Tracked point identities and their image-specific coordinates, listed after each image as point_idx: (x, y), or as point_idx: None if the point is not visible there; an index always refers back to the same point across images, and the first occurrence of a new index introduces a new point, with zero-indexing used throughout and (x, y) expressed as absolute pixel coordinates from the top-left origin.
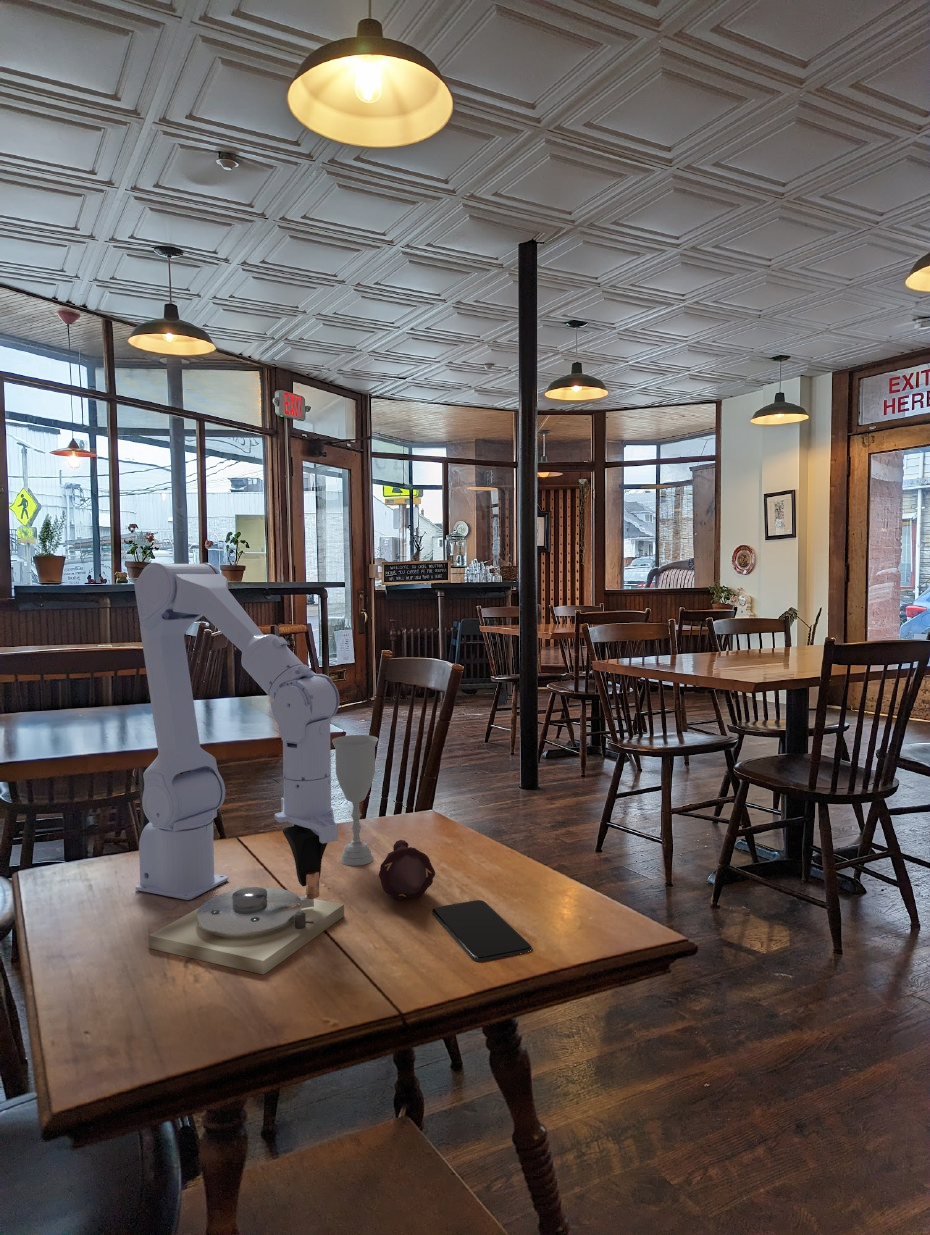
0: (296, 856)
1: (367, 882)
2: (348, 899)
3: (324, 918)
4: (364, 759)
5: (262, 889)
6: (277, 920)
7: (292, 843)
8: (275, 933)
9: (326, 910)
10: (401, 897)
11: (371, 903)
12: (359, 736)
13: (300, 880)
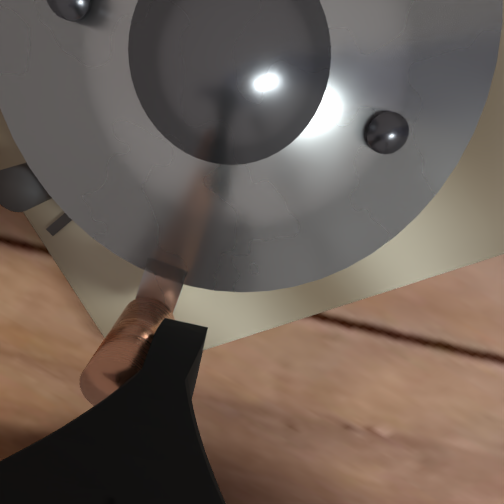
0: (110, 406)
1: (296, 500)
2: (236, 416)
3: (66, 277)
4: None
5: (231, 151)
6: (3, 79)
7: (36, 480)
8: None
9: (119, 315)
10: None
11: None
12: None
13: (164, 328)
